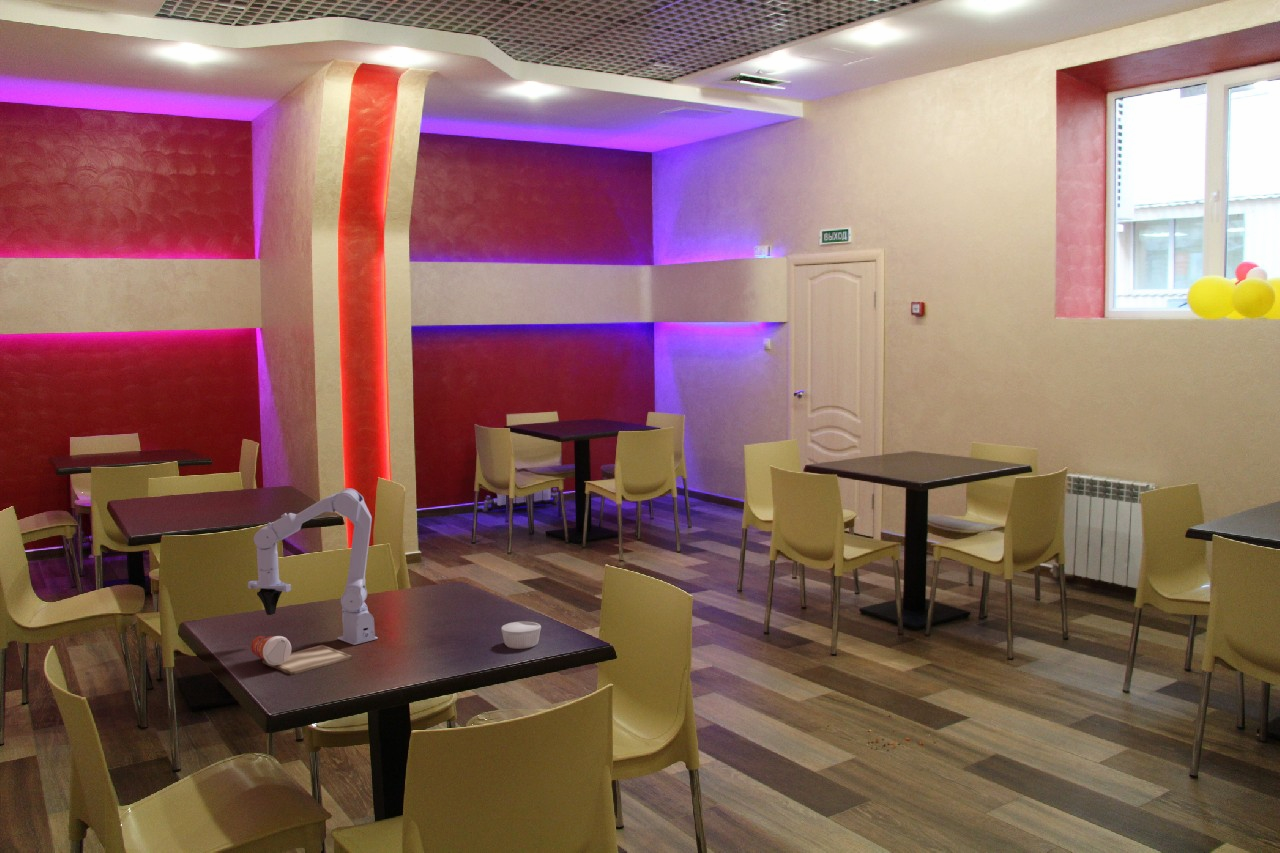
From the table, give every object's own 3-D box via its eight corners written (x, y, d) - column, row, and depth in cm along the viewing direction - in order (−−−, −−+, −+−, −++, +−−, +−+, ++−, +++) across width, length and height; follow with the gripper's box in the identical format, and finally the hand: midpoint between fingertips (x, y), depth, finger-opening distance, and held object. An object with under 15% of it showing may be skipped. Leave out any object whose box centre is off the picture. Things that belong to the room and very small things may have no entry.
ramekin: (547, 639, 303) (546, 622, 303) (533, 651, 292) (532, 632, 292) (511, 637, 306) (510, 620, 306) (495, 649, 295) (495, 630, 295)
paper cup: (254, 627, 290) (272, 632, 279) (279, 637, 294) (297, 642, 283) (241, 654, 288) (259, 660, 277) (267, 664, 292) (285, 670, 281)
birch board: (352, 658, 289) (351, 655, 289) (291, 675, 276) (291, 671, 276) (322, 647, 300) (322, 644, 300) (262, 662, 287) (262, 659, 287)
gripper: (297, 566, 304) (300, 612, 306) (259, 563, 310) (262, 608, 311) (280, 572, 298) (282, 619, 299) (241, 568, 304) (244, 614, 305)
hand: (271, 614), depth 305 cm, fingers closed
